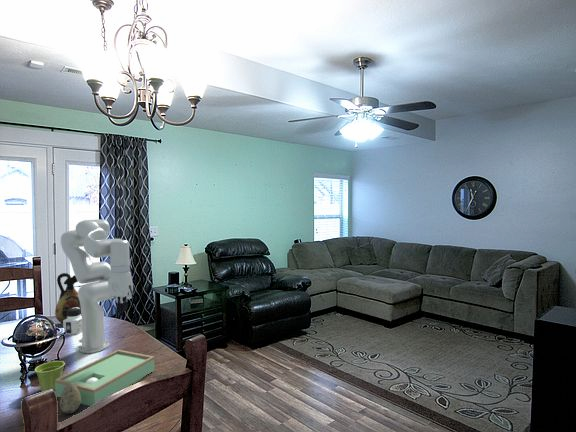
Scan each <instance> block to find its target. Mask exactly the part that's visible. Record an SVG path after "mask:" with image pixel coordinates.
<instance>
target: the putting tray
mask: <svg viewBox="0 0 576 432" xmlns="http://www.w3.org/2000/svg"><path fill="white" fill-rule="evenodd" d="M155 363H156V362H155V356H153V355H147V354H143V353H138V352H137V353H136V352H133V351H127V350H122V349H117V350H115V351H113V352H111V353H109V354H107V355H105V356H102V357H100V358H98V359H96V360H94V361H92V362H90V363H87V364H86V365H83V366H81V367H79V368H78V369H75V370H73V371H71V372H69V373H67V374H64V375H62V377H60V378H58V379H56V380H55V390H54V394H55V396H56V395H57V396H56V397H57V398H60V397H59V396H61V394H62V391H63V389H64V387H65V386H66V385H67V384H68V383H74V384H75V385H76V386H77V388H78V390H79V392H80V396H81V403H80V405H81V404H82V405H85V406H89V407H92V406H91V405H93V404H95V403H96V402H98V401H100V400H102V399H104V398H106V397H107V396H109V395H111V394H113V393H115V392H117V391H119V390H121V389H123V388H126V387H128V386H129V387H131V386H132V383H133V385H134V384H136V383H138V382H139V381H140V380H142V379H144V378H145V377H144V376H146V375H147V374H149V373H151V372H152V373H154V372H155V371H156V367H155V366H156V365H155ZM153 371H154V372H153ZM152 373H151V374H152ZM149 375H150V374H149ZM147 376H148V375H147ZM147 376H146V377H147ZM143 377H144V378H143ZM90 378H97V379H98V380H97V381H95V382H93V383H92V384H87V383H85V382H86V381H87V380H88V379H90ZM141 378H142V379H141ZM130 384H131V386H130ZM129 387H128V388H129ZM126 389H127V388H126Z"/></svg>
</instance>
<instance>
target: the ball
mask: <svg viewBox="0 0 576 432" xmlns="http://www.w3.org/2000/svg"><path fill="white" fill-rule="evenodd" d="M97 380H98V379H97V378H90V379H88V380H87V381H86V382H85V383H87V384H92V383H93V382H95V381H97Z"/></svg>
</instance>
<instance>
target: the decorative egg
mask: <svg viewBox="0 0 576 432" xmlns="http://www.w3.org/2000/svg"><path fill="white" fill-rule="evenodd" d="M80 406H81V396H80V392H79V390H78V388H77V386H76V385H75V384H74V383H68V384H67V385H66V386H65V387H64V389H63V391H62V394H61V398H60V397H59V407H60V410H61V411H62V412H63V413H64V414H67V415H71V414H73V413H75V412H76V411H77V410H78V409H79V407H80Z"/></svg>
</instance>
